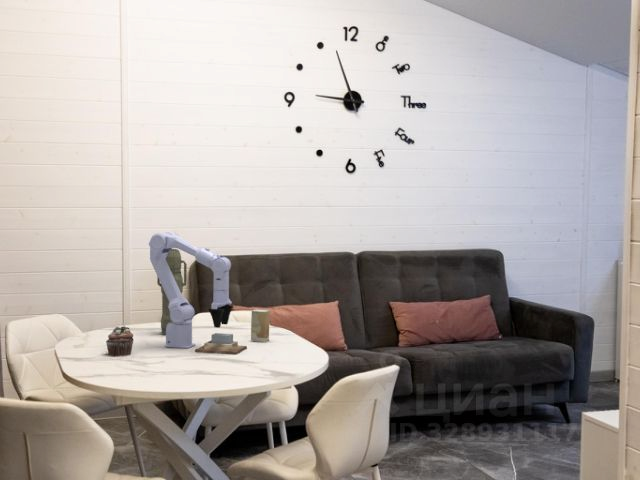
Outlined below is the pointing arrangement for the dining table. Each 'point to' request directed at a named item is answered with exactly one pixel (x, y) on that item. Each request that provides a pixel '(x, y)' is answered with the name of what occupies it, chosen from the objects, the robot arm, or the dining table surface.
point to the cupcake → (120, 342)
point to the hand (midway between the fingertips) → (220, 325)
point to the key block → (222, 338)
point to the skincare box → (260, 325)
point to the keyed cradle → (221, 348)
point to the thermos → (175, 267)
